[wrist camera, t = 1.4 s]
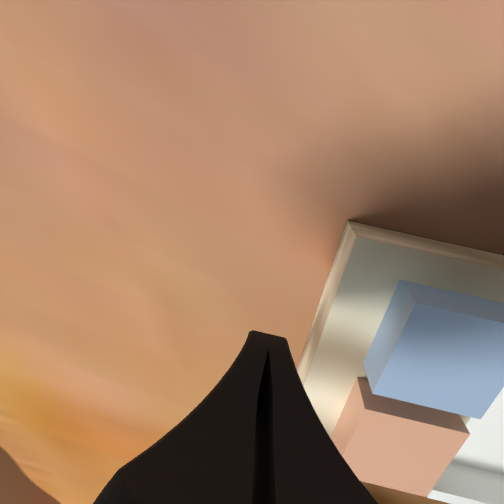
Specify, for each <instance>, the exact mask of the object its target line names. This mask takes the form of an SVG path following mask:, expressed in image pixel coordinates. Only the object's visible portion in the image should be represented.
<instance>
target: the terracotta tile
mask: <svg viewBox="0 0 504 504" xmlns="http://www.w3.org/2000/svg"><path fill="white" fill-rule="evenodd" d="M469 435H470V433H469V431H468V429H467V427H466V426H465V424H464V422H463V420H462V419H461V417H460V415H459V414H456V413H451V412H447V411H443V410H439V409H435V408H430V407H426V406H422V405H418V404H414V403H409V402H405V401H401V400H397V399H393V398H388V397H384V396H380V395H376V394H372V391H371V388H370V384H369V381H368V380H366V379H362V378H358V377H357V378H356V380H355V383H354V385H353V387H352V389H351V392H350V394H349V396H348V398H347V401H346V403H345V405H344V407H343V410H342V412H341V414H340V417H339V419H338V421H337V423H336V426H335V428H334V430H333V432H332V435H331V437H330V438H331V440H332V441H333V443H334V444H335V446H336V448H337V449H338V451H339V452H340V454H341V455H342V457H343V458H344V459H345V461H346V462H347V464H348V465H349V467H350V468H351V469H352V471H353V472H354V474H355V475H356V476H357V478H358V479H359V481H363V482H367V483H371V484H375V485H379V486H383V487H387V488H391V489H395V490H399V491H403V492H407V493H411V494H415V495H420V496H424V497H427V495H428V494H429V492H430V491H431V490H432V488H433V487H434V485H435V484H436V482H437V481H438V480H439V478H440V477H441V475H442V474H443V472H444V471H445V470H446V468H447V467H448V465H449V464H450V462H451V461H452V460H453V458H454V457H455V455H456V454H457V453H458V451H459V450H460V448H461V447H462V445H463V444H464V443H465V441H466V440H467V438H468V437H469Z"/></svg>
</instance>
